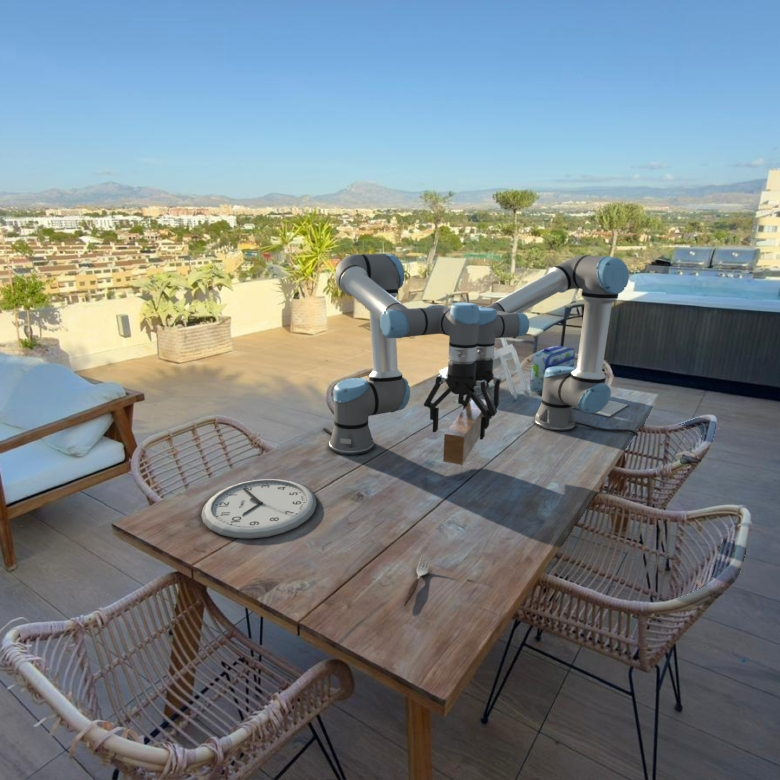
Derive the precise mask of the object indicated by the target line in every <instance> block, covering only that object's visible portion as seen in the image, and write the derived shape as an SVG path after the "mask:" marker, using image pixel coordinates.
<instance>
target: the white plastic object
mask: <svg viewBox="0 0 780 780" xmlns="http://www.w3.org/2000/svg"><path fill="white" fill-rule="evenodd" d="M500 342H501V345H502V347H500V348H498V349H496V350H495V349H494V357H493V358H492V359H493V371H495V370H496V369H497V368H499V367H500V366H502V370H503V373H504V376H505V380H506V383H507V386H508V390H509V393H510V394H511V395H512V397H513V398H514V399H515V400H517V392H516V391H517V390H516V388H515V385H514V381H513V378H512V375H511V371H510V369H509V365H508V361H510V360H513V363H514V366H515V369H516V372H517V376H518V380H519V382H520V385H521V389H522V391H523V393H524V395H525V396H526V397H528V396H531V395H530V389H529V388H528V387H529V386H528V384H527V381H526V378H525V375H524V371H523V369H522V368H523V367H522V366H521V362H520V359H519V355H518V352H517V349H516V347H515V346H514V345H513V343H511V344H508V341H507V337H506V338H500ZM438 372H439V375H442V376H443V377H447V376H448V366H446V367H444V368H442V369H440V370H439V371H438ZM443 384H444V385H445V386H448V385H447V383H446V382H444V383H443Z"/></svg>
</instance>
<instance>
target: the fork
mask: <svg viewBox="0 0 780 780" xmlns="http://www.w3.org/2000/svg"><path fill="white" fill-rule="evenodd" d="M423 555H424V554H421V557H420V560H419V563H418V565H417V567H416V574H417V577H416V578H415V580H414V581H413V582H412V584H411V586H410V587H409V590H408V593H407V596H406V599H405V601H404V604H403V606H404V607H406V605H407V604H408V603H409V601H410V599H411V598H412V596H413V595H414V594H415V593H416V590H417V588H418V583H419V580H420V578H421V577H423V576H426V575H427V574H428V573H429V570H430V566H431V563H432V561H431V560H432V558H430V560H429V557H427V558H426V556H424V558H423ZM422 559H423V561H422ZM425 560H426V561H425ZM428 560H429V562H428Z"/></svg>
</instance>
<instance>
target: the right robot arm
mask: <svg viewBox="0 0 780 780" xmlns="http://www.w3.org/2000/svg"><path fill="white" fill-rule="evenodd" d="M629 279H630V271H629V268H628V266H627V264H626V263H625V261H623V260H622V259H620V258H618V257H614V256H609V255H590V254H582V255H578V256H574V257H572V258H569V259H567V260H565V261H563V262H560V263H558V264H557V265H555V266H553V267H551V268H550V269H549V270H548V273H546V274H544V275H542V276H541V277H539V278H537V279H534V281H531V282H530V283H528V284H526V285H524V286H522V287H521V288H519V289H517V290H514V291H513V292H512V293H509V294H508V295H506V296H504V297H502V298H500V299H498V300H496V301H495V302H493V303H491V304H489V305H487V306H485V305H478V307H479V327H478V341H477V359H476V361H474V362H475V363H476V374H475V378H476V381H483V380H486V381H487V388H488V391H489V393H490V395H491V396H492V394H491V390H490V389H491V388H490V382H491V381H493V384H494V387H493V389H494V390H493V403H494V405H495V407H496V410H498V408H499V406H500V385H501V382H502V380H503V379H502V378H501V377H498V376H495V375H494V370H493V359H492V358H493V357H494V350H495V344H496V339H501V338H506V339H507V338H517V337H523V336H526V335H527V333H528V332H529V330H530V319H529V317H528V316H527V314H526V313H524V312H525V311H527V310H528V309H530V308H532V307H534V306H536V305H538V304H539V303H542V302H543V301H545V300H546V299H549V298H550V297H553V296H554V295H556V294H557V293H561V294H562V293H566V292H567V291H570V290H576V289H579V290H582V291H581V298H582V299H583V300H584V309H583V317H582V322H581V323H582V324H581V329H580V330H581V332H580V337H579V346H578V352H577V353H578V354H577V361H576V367H575V366H574V367H567V366H556V367H549V368H547V369H546V370H545V374H544V380H543V391H542V393H541V402H540V405H539V407H538V410H537V411H536V413H535V417H534V424H535V425H536V426H537V427H539V428H542V429H544V430H549V431H556V432H567V431H572V430H574V429H575V428H576V425H577V426H578V425H579V426H581V427H586V428H588V429H589V428H590V429H593V430H598V431H603V432H619V433H620V432H622V433H631V434H633V435H634V436H637V437H639V433H637V432H636V431H635V430H633V429H628V428H625V429H622V428H606V427H605V428H603V427H598V426H594V425H591V424H587V423H583V422H579V421H576V418H575V417H576V416H575V413H574V409H576V408H577V409H576V410H579V411H580V412H583V413H587V414H596V412H599V411H600V410H602V409H603V407H605V406H606V404H607V403H608V401H609V400H610V399H611V395H612V391H611V388H610V386H609V385H608V384H607V383H606V379H607V378H606V377H607V375H606V374H605V372H604V371H603V367H604V359H605V352H606V346H607V339H608V333H609V327H610V321H611V314H612V313H611V312H612V306H613V303H614V302H615V301H617V300H618V299H619V294H621V293H622V292H624V291H625V288H627V286H628V283H629ZM476 387H478V386H477V385H476V386H475V387H474V389H475V388H476ZM457 397H458V398H457V403H458V404H459V405H462V407H463V408H462V411H463V410H464V409H465V408H466V406H467V405H468V404H469V403H470V401H471V398H470V397H469V396H468V394H467V395H461V394H458V396H457ZM464 398H465V399H464ZM487 408H488V407H487ZM488 410H489V408H488ZM492 417H493V416H490V420H492ZM487 429H488V428H485V430H487Z"/></svg>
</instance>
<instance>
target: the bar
mask: <svg viewBox="0 0 780 780" xmlns="http://www.w3.org/2000/svg"><path fill="white" fill-rule="evenodd" d="M480 399H481V398H480ZM481 400H482V401H483V403H484V404H485V405H486V407H488V406H487V404H486V401H485V399H481ZM482 415H483V414H482V412H481V411H480V409H479V408H478V407H477V405H476V404H475V403H474V401H473V400H472V399H470V401H469V403H468V405H467V406H466V408H465V409H464V410H463V409H462V411H461V413H460V414H459V415H458V416H457V418H455V420H454V422H453V423H452V424H451V425H450V426H449V428H448V429H447V430H446V431H445V432H444V437H443V456H442V462H443V463H444V462H445V463H448V464H449V463H450V464H456V465H460V466H463V465H464V463H465V461H466V460H467V458H468V457H469V455H470V454H471V452H472V451H473V449H474V447H475V445H476V444H477V442H478V441H479V440H480V429H481V417H482Z"/></svg>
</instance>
